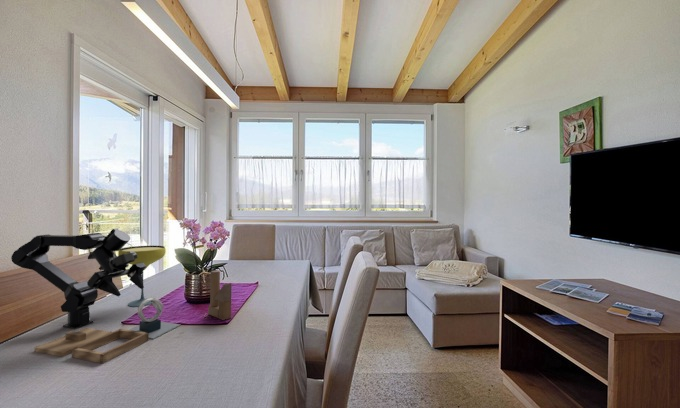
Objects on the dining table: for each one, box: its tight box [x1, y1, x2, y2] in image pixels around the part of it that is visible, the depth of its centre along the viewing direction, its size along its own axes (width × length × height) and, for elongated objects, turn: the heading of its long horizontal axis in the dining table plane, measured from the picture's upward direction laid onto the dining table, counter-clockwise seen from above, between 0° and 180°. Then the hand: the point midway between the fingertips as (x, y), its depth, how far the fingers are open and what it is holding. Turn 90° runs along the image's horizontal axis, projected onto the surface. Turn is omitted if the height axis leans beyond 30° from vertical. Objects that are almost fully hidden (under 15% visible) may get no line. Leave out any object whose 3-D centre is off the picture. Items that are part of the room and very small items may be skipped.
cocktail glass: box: [117, 245, 167, 308], centre depth 138 cm, size 18×18×25 cm
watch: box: [137, 297, 164, 333], centre depth 109 cm, size 6×8×11 cm
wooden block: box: [207, 270, 232, 321], centre depth 123 cm, size 4×11×18 cm, turn 55°
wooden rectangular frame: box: [71, 328, 149, 364], centre depth 95 cm, size 12×15×2 cm
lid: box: [33, 327, 113, 358], centre depth 98 cm, size 12×15×3 cm
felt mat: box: [129, 321, 181, 340], centre depth 109 cm, size 14×12×1 cm
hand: (131, 291), depth 109 cm, fingers open, 9 cm apart
